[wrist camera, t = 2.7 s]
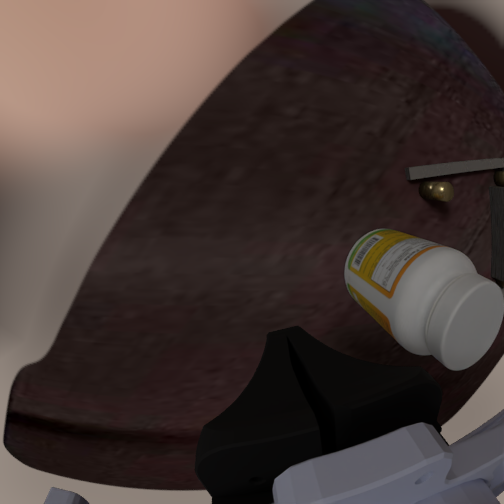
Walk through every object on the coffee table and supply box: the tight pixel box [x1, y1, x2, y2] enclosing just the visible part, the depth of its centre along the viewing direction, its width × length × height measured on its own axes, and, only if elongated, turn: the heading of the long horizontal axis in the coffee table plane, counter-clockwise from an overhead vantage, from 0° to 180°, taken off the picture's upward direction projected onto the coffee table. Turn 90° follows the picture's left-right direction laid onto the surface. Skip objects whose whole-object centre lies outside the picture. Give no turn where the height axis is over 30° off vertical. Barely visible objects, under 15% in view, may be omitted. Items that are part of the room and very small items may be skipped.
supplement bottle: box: [345, 229, 504, 371], centre depth 14 cm, size 5×5×10 cm
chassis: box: [405, 158, 504, 296], centre depth 17 cm, size 12×12×2 cm
